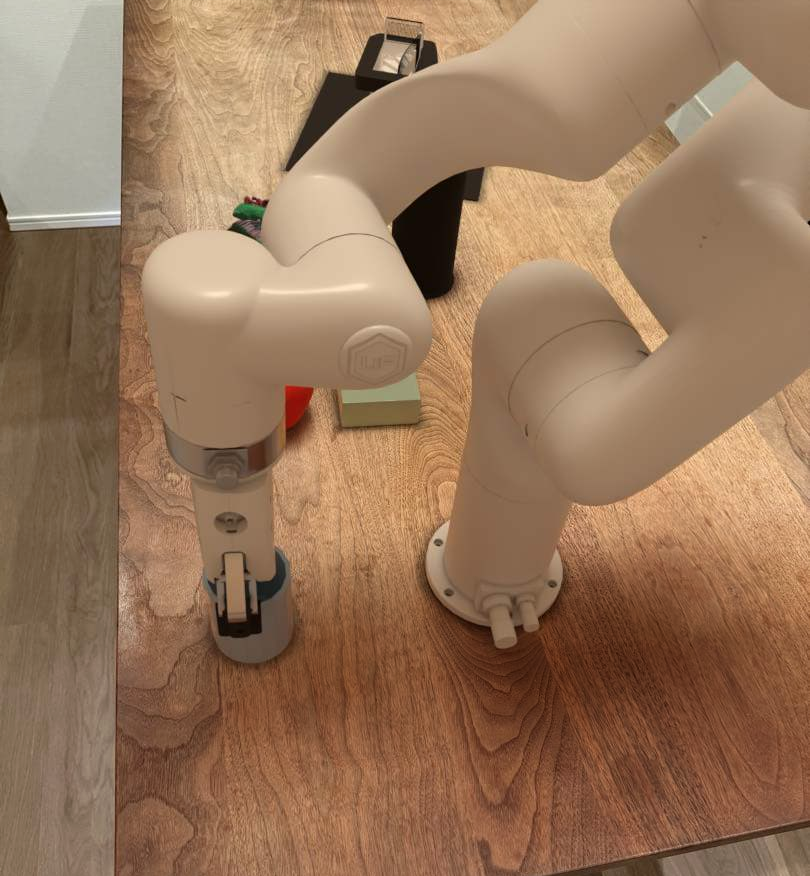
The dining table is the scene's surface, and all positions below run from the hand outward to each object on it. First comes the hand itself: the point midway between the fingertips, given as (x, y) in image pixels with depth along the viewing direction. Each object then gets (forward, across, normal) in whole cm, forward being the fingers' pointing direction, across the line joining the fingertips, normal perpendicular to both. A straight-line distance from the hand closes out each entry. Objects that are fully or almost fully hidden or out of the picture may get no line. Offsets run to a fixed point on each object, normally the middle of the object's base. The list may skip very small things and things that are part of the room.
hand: (238, 578), depth 69 cm
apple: (+8, +25, -4) cm, 27 cm away
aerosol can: (+7, +47, -23) cm, 53 cm away
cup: (+8, 0, -1) cm, 8 cm away
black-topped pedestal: (+7, +80, -25) cm, 84 cm away
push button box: (+7, +29, -15) cm, 34 cm away
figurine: (+8, +50, -8) cm, 51 cm away
